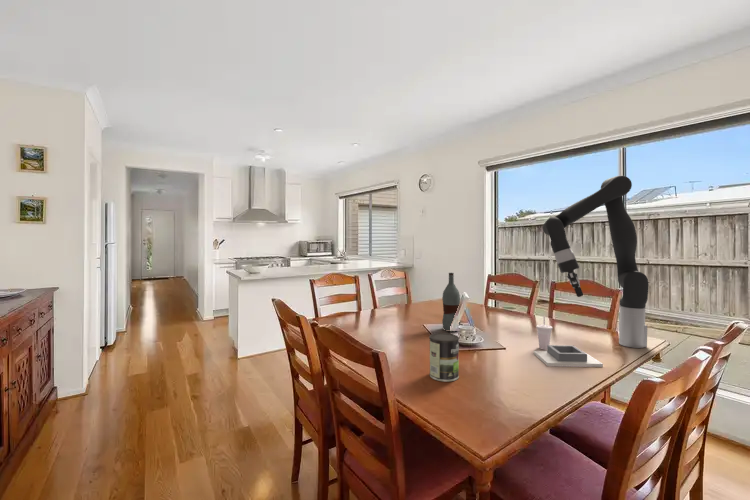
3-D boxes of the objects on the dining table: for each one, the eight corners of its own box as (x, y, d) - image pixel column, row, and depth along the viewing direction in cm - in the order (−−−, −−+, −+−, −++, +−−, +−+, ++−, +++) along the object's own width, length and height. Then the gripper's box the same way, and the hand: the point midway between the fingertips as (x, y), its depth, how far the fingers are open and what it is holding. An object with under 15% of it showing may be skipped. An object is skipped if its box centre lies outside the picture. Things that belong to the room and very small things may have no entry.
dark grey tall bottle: (459, 333, 177) (459, 274, 176) (441, 331, 180) (441, 273, 179) (461, 328, 186) (461, 272, 185) (443, 327, 189) (443, 271, 188)
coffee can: (462, 373, 126) (462, 335, 125) (453, 384, 117) (453, 342, 117) (435, 368, 131) (435, 331, 131) (424, 378, 123) (424, 338, 122)
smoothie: (551, 346, 155) (551, 315, 154) (553, 351, 149) (553, 318, 148) (535, 345, 157) (535, 314, 156) (536, 349, 151) (537, 317, 150)
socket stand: (583, 354, 145) (583, 344, 145) (602, 367, 131) (603, 355, 131) (533, 353, 146) (533, 343, 146) (547, 366, 132) (547, 355, 132)
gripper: (574, 257, 147) (590, 294, 143) (576, 258, 159) (590, 293, 156) (555, 262, 151) (570, 299, 147) (558, 263, 163) (571, 297, 159)
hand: (580, 296), depth 151 cm, fingers open, 8 cm apart
